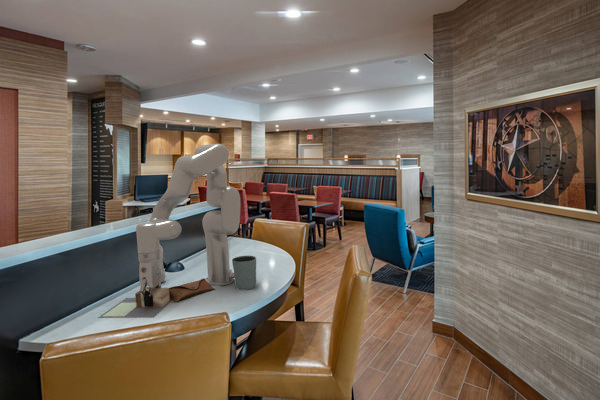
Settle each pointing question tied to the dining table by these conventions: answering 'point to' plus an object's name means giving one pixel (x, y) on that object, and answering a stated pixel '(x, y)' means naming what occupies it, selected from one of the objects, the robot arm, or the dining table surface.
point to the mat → (132, 310)
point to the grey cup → (244, 272)
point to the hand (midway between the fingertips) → (153, 302)
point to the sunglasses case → (189, 290)
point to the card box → (154, 297)
